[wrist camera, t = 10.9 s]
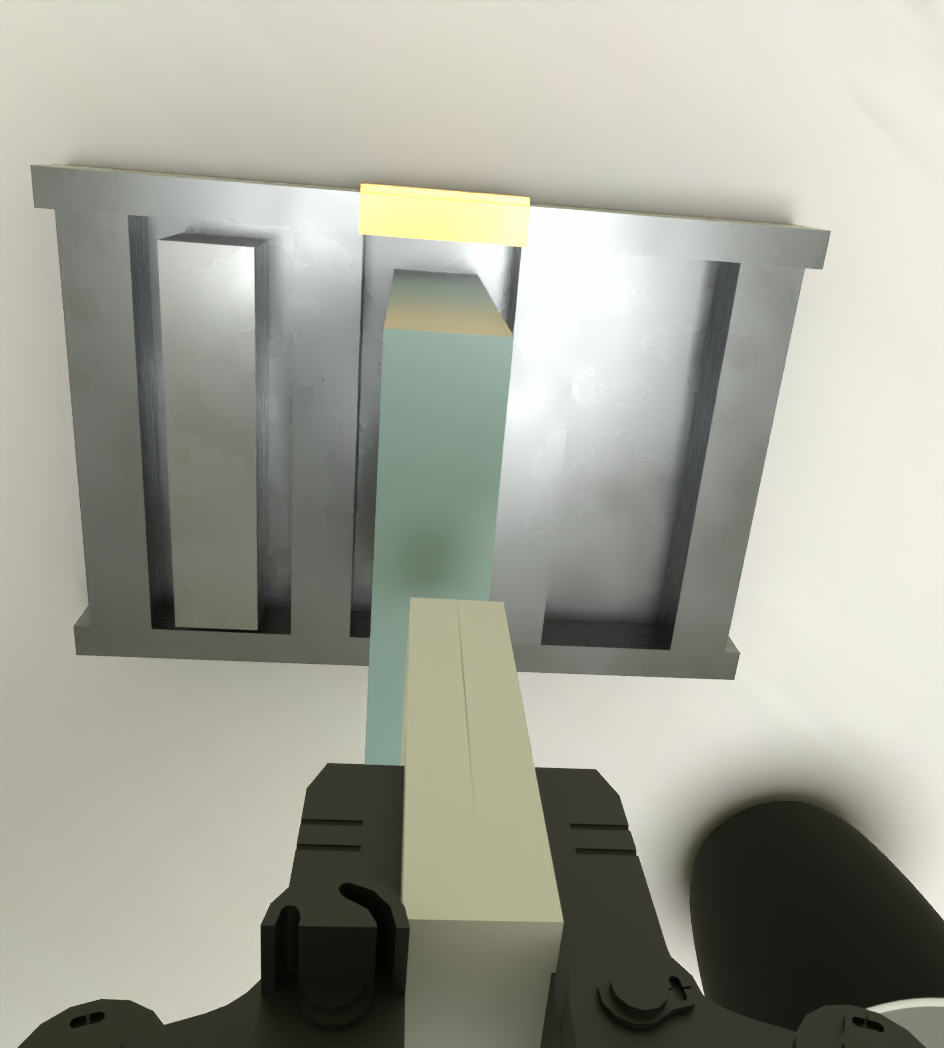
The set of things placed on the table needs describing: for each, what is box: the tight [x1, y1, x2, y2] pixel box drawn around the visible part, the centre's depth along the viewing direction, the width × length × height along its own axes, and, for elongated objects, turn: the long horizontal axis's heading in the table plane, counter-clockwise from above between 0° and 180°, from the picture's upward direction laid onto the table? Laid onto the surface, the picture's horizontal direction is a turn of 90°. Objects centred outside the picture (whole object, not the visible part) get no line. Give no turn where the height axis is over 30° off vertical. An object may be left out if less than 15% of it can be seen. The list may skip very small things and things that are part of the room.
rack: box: [31, 165, 831, 680], centre depth 27 cm, size 21×14×4 cm
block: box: [365, 269, 514, 766], centre depth 23 cm, size 2×10×10 cm, turn 175°
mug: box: [690, 802, 944, 1048], centre depth 32 cm, size 12×9×10 cm
